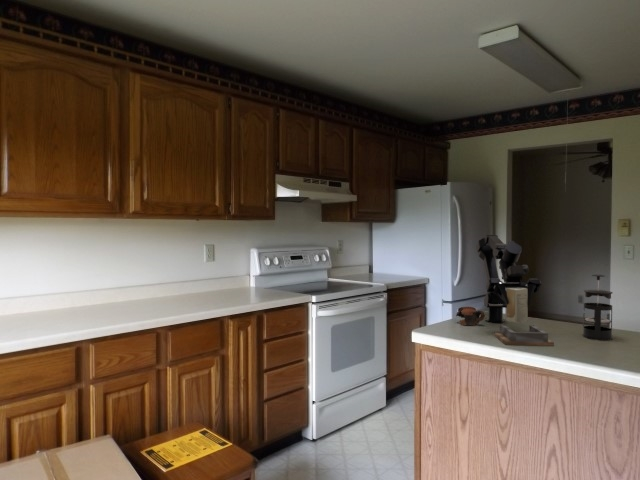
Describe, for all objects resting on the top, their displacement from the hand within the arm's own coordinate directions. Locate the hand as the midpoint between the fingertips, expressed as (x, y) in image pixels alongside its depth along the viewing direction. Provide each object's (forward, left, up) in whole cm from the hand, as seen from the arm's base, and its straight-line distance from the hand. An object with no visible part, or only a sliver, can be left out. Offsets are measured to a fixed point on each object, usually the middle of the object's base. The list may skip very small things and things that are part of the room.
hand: (518, 303), depth 167 cm
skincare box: (-1, -1, -7) cm, 7 cm away
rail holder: (+4, +3, -12) cm, 13 cm away
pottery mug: (-12, -22, -12) cm, 28 cm away
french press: (-18, +23, -12) cm, 32 cm away
